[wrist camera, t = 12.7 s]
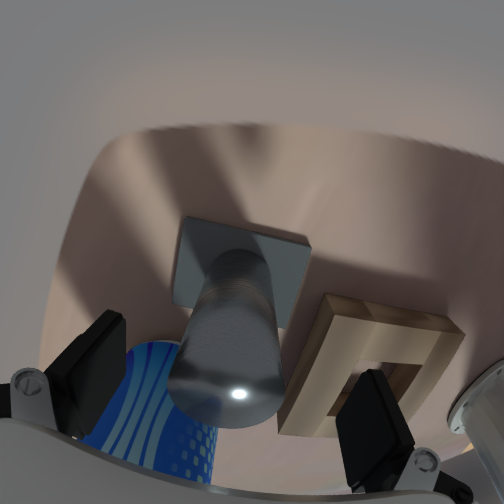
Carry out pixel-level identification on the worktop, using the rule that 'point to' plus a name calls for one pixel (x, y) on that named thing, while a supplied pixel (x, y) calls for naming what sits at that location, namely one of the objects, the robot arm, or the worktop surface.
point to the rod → (230, 347)
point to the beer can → (154, 420)
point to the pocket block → (364, 348)
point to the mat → (227, 238)
